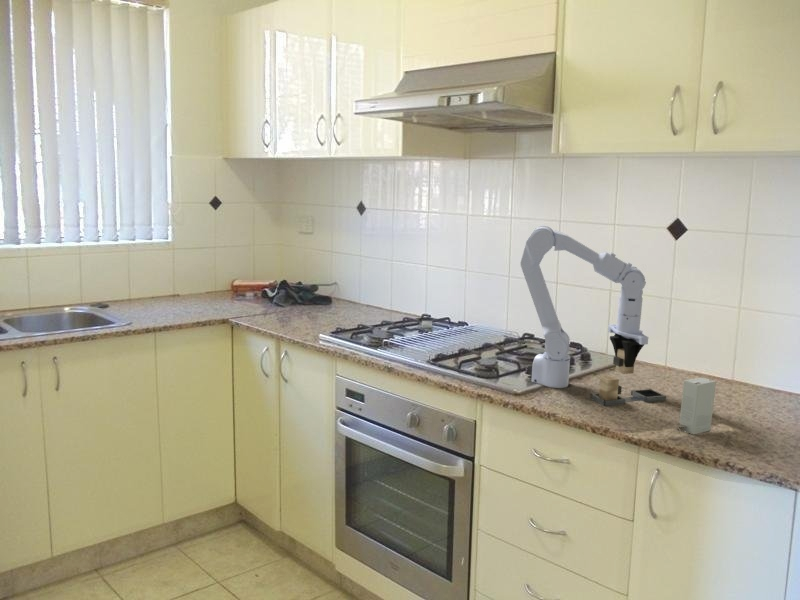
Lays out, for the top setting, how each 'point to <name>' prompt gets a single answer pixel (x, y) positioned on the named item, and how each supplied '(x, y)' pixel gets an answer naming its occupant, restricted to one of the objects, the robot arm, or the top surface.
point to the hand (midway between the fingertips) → (624, 364)
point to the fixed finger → (609, 388)
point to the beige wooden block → (622, 363)
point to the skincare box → (697, 405)
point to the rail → (639, 395)
